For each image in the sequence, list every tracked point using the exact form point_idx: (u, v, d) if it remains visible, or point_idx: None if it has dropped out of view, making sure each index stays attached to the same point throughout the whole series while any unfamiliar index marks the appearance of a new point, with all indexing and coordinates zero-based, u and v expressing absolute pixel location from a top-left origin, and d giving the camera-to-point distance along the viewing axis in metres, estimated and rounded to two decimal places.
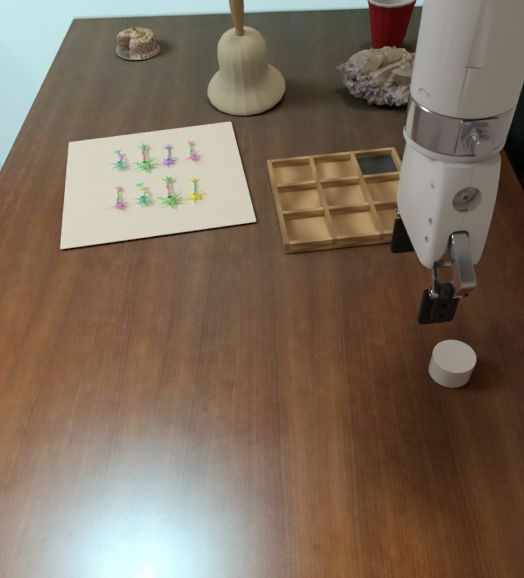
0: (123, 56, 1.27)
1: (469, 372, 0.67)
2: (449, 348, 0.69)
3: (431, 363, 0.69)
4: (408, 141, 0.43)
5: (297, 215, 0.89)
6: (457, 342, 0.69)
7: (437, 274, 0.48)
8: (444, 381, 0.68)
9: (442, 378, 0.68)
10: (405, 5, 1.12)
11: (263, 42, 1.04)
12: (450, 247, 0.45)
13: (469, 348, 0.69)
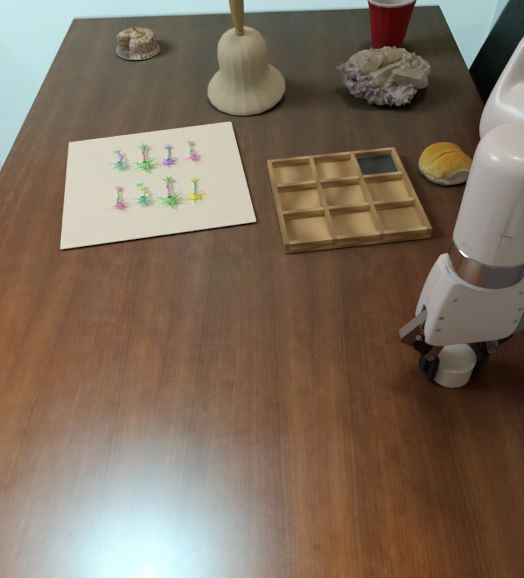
0: (123, 56, 1.27)
1: (469, 372, 0.67)
2: (449, 348, 0.69)
3: None
4: (506, 289, 0.55)
5: (297, 215, 0.89)
6: None
7: None
8: (444, 381, 0.68)
9: (442, 378, 0.68)
10: (405, 5, 1.12)
11: (263, 42, 1.04)
12: None
13: (469, 348, 0.69)
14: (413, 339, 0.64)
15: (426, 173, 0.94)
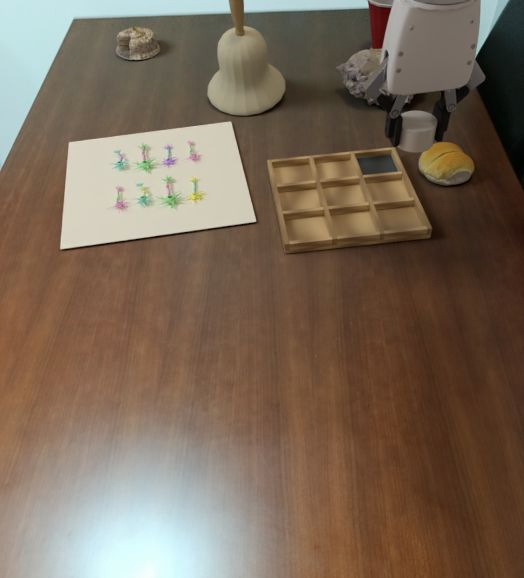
0: (123, 56, 1.27)
1: (431, 133, 0.73)
2: (412, 116, 0.74)
3: None
4: (457, 7, 0.60)
5: (297, 215, 0.89)
6: (420, 111, 0.75)
7: None
8: (408, 145, 0.74)
9: (406, 142, 0.73)
10: None
11: (263, 42, 1.04)
12: None
13: (431, 115, 0.74)
14: (377, 91, 0.69)
15: (426, 173, 0.94)
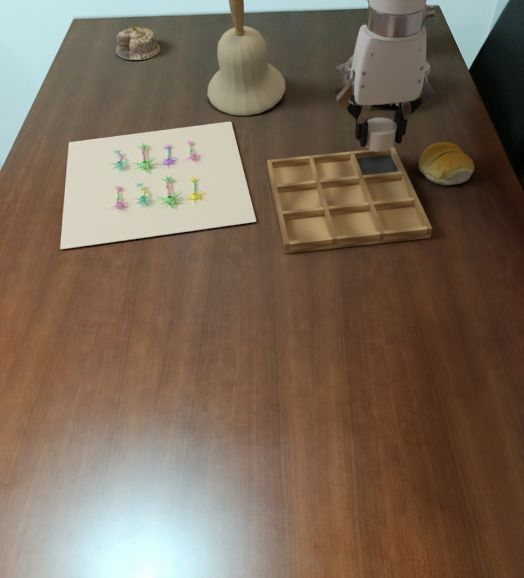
0: (123, 56, 1.27)
1: (391, 136, 0.90)
2: (377, 122, 0.91)
3: None
4: (405, 39, 0.77)
5: (297, 215, 0.89)
6: (384, 118, 0.92)
7: (409, 104, 0.87)
8: (373, 145, 0.91)
9: (371, 143, 0.91)
10: None
11: (263, 42, 1.04)
12: None
13: (392, 121, 0.91)
14: (347, 102, 0.86)
15: (426, 173, 0.94)
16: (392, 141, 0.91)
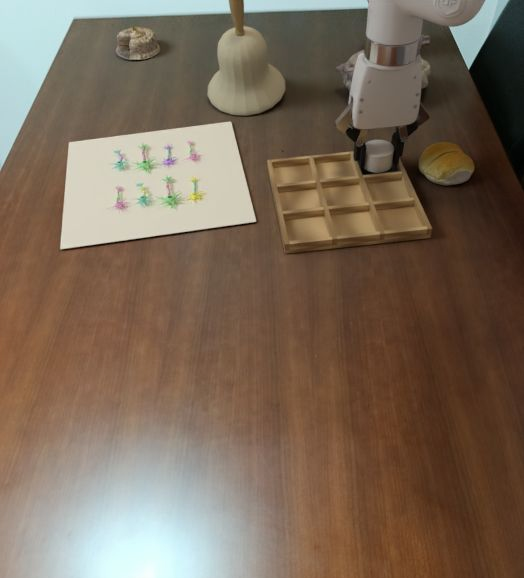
0: (123, 56, 1.27)
1: (388, 158, 0.93)
2: (375, 144, 0.94)
3: None
4: (401, 68, 0.80)
5: (297, 215, 0.89)
6: (381, 140, 0.95)
7: None
8: (371, 167, 0.94)
9: (369, 164, 0.94)
10: None
11: (263, 42, 1.04)
12: None
13: (390, 143, 0.94)
14: (345, 126, 0.89)
15: (426, 173, 0.94)
16: (389, 163, 0.94)
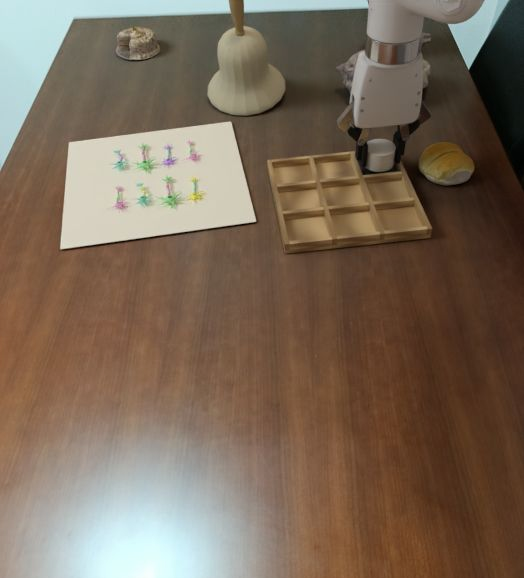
0: (123, 56, 1.27)
1: (390, 157, 0.93)
2: (377, 143, 0.94)
3: None
4: (402, 66, 0.80)
5: (297, 215, 0.89)
6: (383, 139, 0.95)
7: (407, 126, 0.90)
8: (373, 166, 0.94)
9: (371, 163, 0.94)
10: None
11: (263, 42, 1.04)
12: None
13: (391, 142, 0.94)
14: (347, 125, 0.89)
15: (426, 173, 0.94)
16: (391, 162, 0.94)
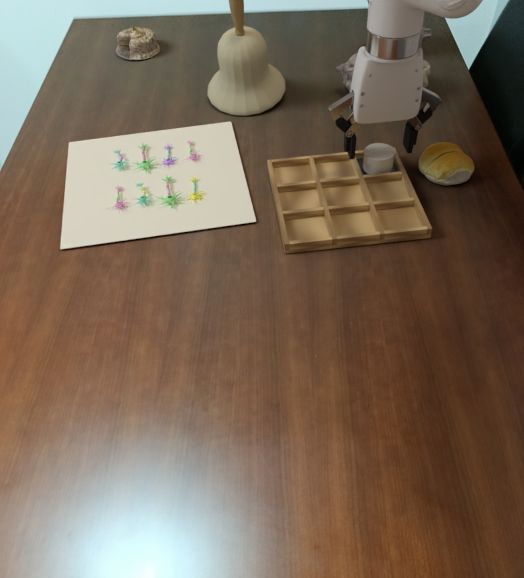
0: (123, 56, 1.27)
1: (389, 161, 0.93)
2: (376, 147, 0.95)
3: (363, 158, 0.95)
4: (402, 61, 0.79)
5: (297, 215, 0.89)
6: (382, 144, 0.95)
7: (416, 116, 0.89)
8: (372, 170, 0.94)
9: (370, 168, 0.94)
10: None
11: (263, 42, 1.04)
12: (421, 94, 0.87)
13: (391, 147, 0.95)
14: (338, 114, 0.88)
15: (426, 173, 0.94)
16: (390, 166, 0.94)
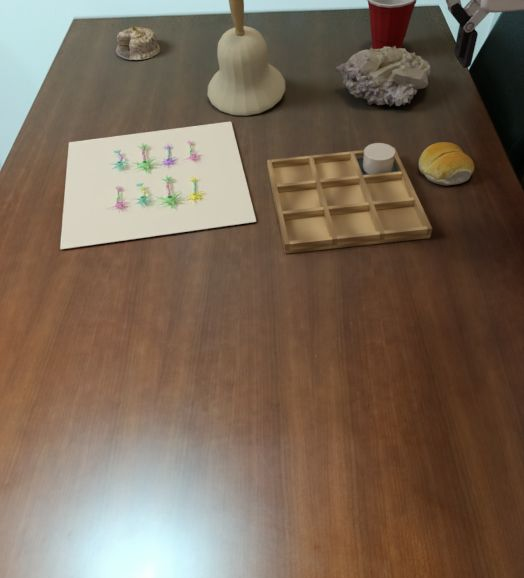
0: (123, 56, 1.27)
1: (389, 161, 0.93)
2: (376, 147, 0.95)
3: (363, 158, 0.95)
4: None
5: (297, 215, 0.89)
6: (382, 144, 0.95)
7: None
8: (372, 170, 0.94)
9: (370, 168, 0.94)
10: (405, 5, 1.12)
11: (263, 42, 1.04)
12: None
13: (391, 147, 0.95)
14: None
15: (426, 173, 0.94)
16: (390, 166, 0.94)
